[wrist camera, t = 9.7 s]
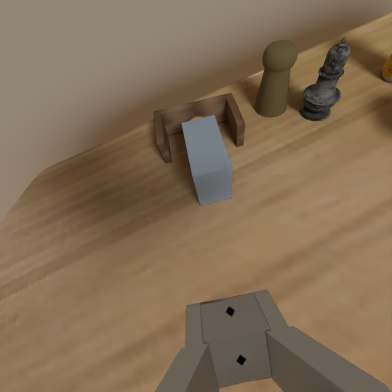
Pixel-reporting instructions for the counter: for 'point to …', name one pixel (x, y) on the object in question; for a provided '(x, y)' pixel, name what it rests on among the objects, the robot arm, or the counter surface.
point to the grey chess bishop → (325, 85)
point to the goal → (175, 116)
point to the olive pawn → (275, 78)
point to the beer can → (388, 70)
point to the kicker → (208, 160)
